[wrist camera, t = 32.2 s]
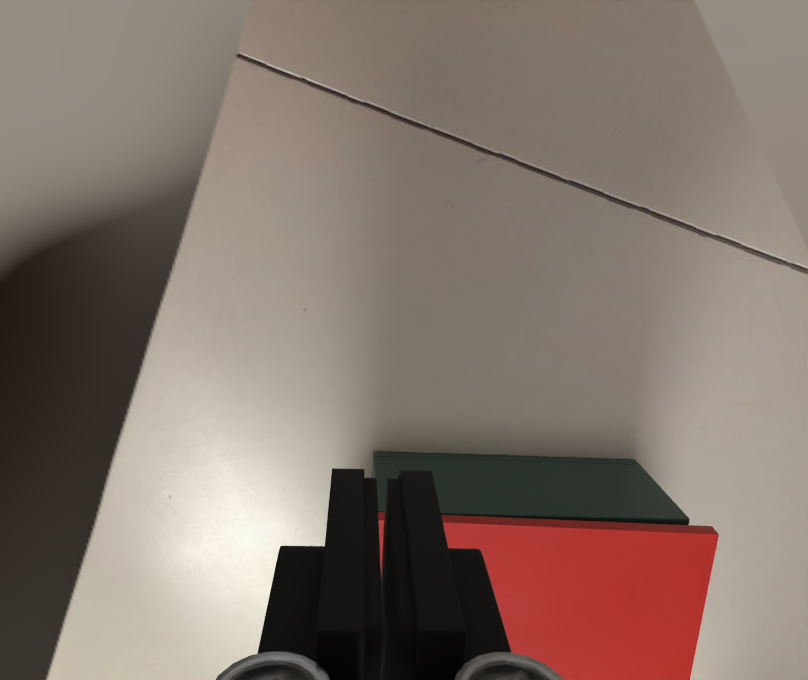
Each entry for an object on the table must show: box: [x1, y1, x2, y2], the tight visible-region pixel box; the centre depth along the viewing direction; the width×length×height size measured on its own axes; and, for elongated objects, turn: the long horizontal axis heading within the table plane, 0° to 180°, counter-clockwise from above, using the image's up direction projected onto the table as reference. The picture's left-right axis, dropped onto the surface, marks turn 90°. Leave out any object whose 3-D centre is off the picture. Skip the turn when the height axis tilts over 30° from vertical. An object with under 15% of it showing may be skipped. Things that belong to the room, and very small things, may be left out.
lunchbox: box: [372, 452, 689, 525], centre depth 42 cm, size 18×13×8 cm
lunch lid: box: [378, 512, 718, 680], centre depth 38 cm, size 18×13×1 cm
